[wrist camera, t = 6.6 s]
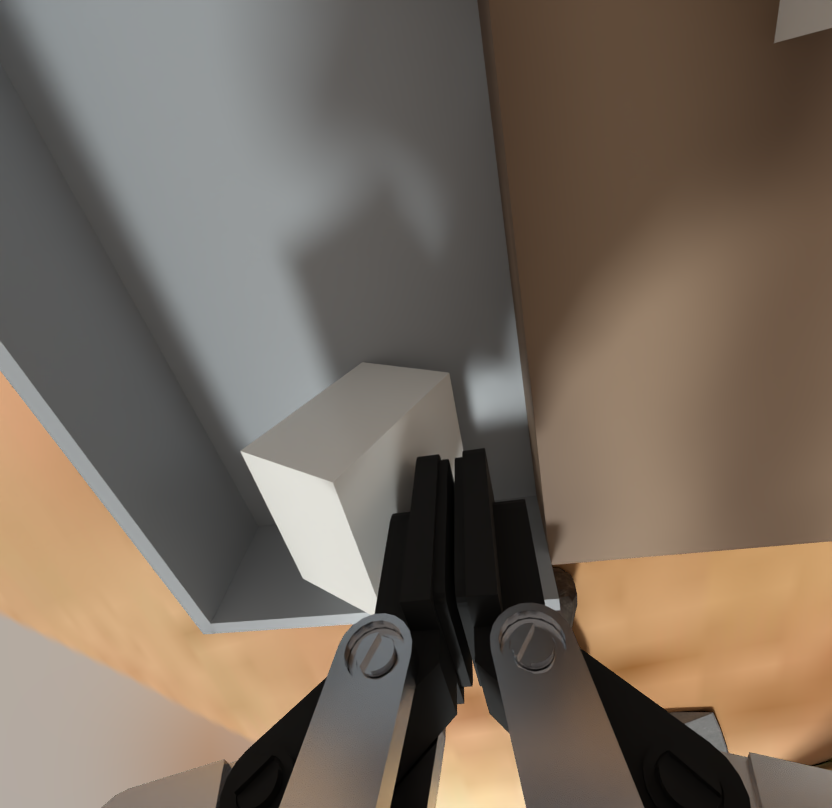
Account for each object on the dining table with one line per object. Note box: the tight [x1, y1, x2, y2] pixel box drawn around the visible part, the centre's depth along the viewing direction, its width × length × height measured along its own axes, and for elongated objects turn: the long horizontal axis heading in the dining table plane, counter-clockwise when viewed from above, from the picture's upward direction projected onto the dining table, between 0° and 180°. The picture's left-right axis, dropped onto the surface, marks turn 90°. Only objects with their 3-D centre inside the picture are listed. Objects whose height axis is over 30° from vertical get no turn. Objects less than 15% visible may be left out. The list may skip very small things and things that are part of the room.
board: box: [477, 0, 832, 565], centre depth 9 cm, size 12×18×3 cm, turn 12°
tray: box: [0, 0, 560, 634], centre depth 11 cm, size 11×18×4 cm, turn 13°
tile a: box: [240, 362, 463, 615], centre depth 12 cm, size 4×4×3 cm
